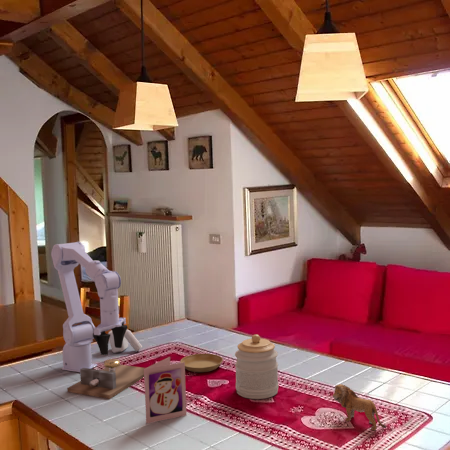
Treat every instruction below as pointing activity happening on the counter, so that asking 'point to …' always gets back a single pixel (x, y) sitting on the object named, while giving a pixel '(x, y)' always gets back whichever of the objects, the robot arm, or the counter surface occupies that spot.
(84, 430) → the counter surface
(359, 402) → the lion figurine
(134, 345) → the wall hook
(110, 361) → the brass knob with shaft
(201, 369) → the plant saucer
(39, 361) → the counter surface
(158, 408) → the greeting card
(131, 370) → the wooden board
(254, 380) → the jar
